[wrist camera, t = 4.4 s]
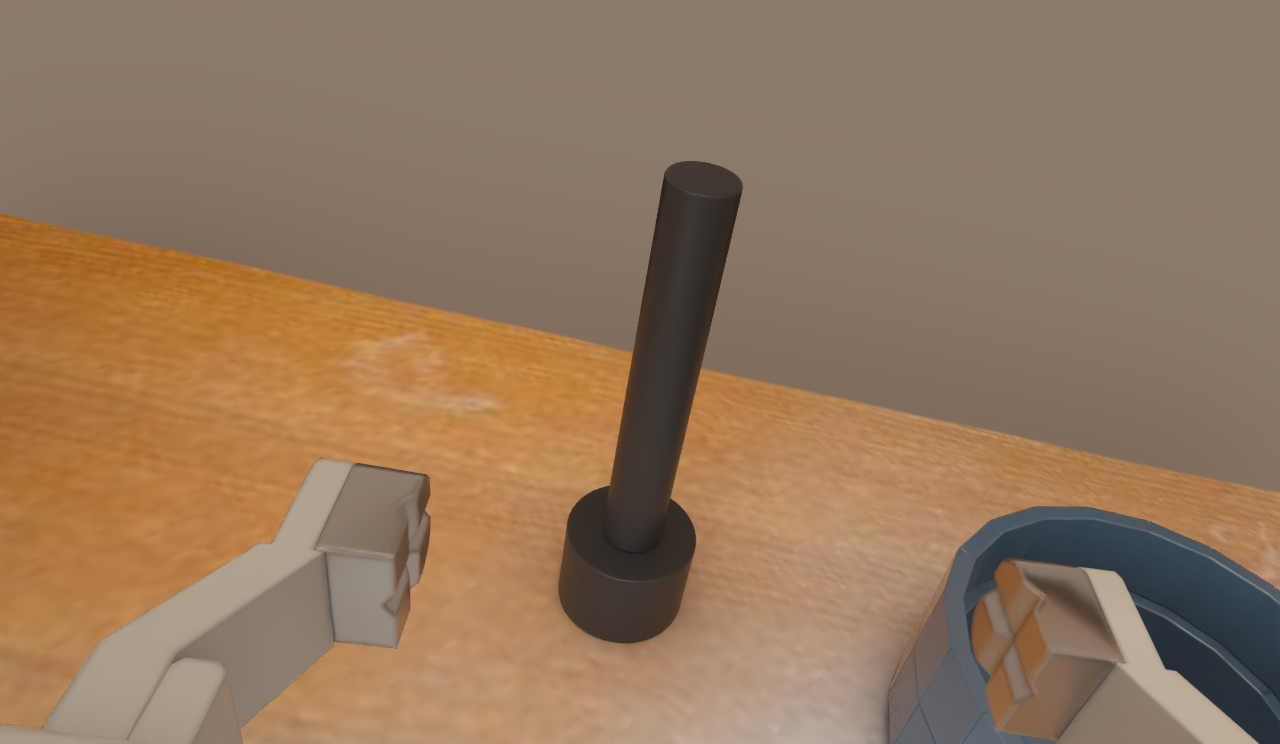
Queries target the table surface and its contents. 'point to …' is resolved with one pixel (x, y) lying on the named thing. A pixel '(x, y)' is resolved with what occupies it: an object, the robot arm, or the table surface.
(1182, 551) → the bowl
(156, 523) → the table surface
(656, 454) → the black rod with base
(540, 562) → the table surface
